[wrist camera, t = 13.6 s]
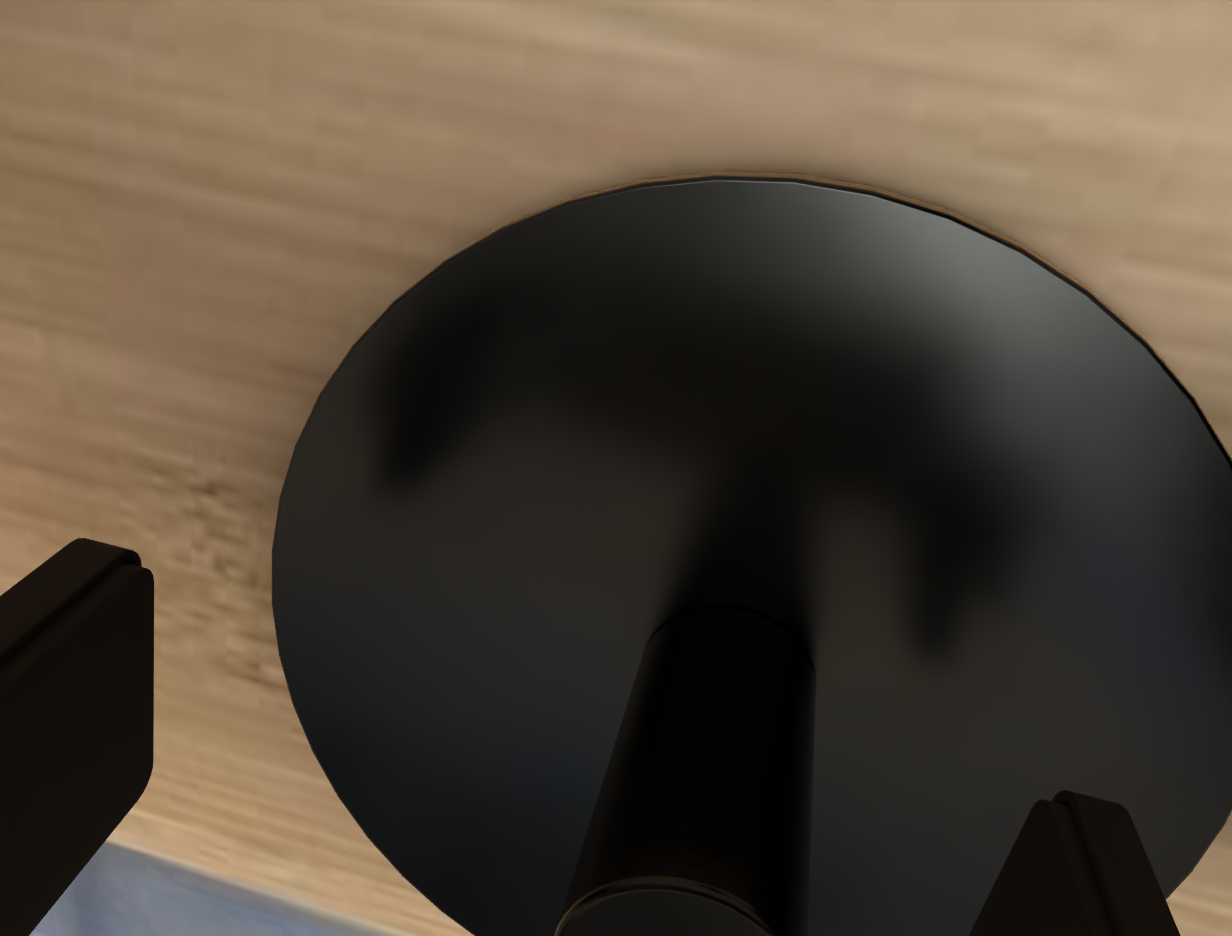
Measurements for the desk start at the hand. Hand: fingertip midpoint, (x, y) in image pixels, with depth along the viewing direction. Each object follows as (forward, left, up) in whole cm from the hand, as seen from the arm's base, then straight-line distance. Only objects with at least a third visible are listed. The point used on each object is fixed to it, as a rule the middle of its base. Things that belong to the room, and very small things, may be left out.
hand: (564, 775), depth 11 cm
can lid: (+2, -1, -4) cm, 4 cm away
